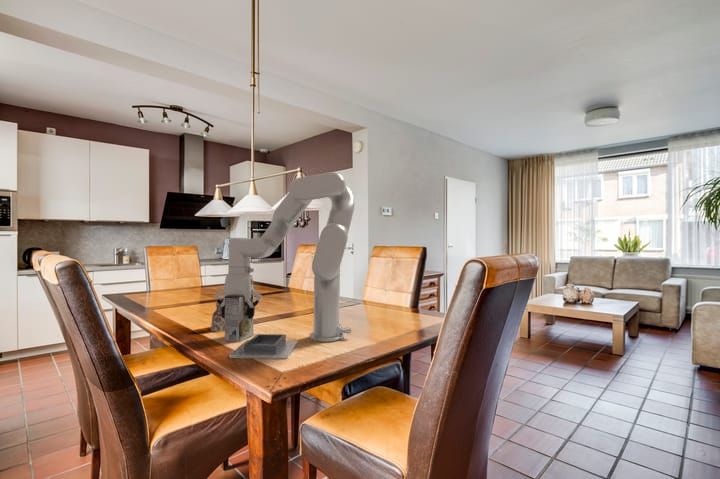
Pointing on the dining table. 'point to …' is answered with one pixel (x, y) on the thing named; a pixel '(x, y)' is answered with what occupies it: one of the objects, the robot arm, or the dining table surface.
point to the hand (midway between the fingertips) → (237, 317)
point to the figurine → (218, 320)
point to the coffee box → (237, 319)
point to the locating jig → (265, 347)
